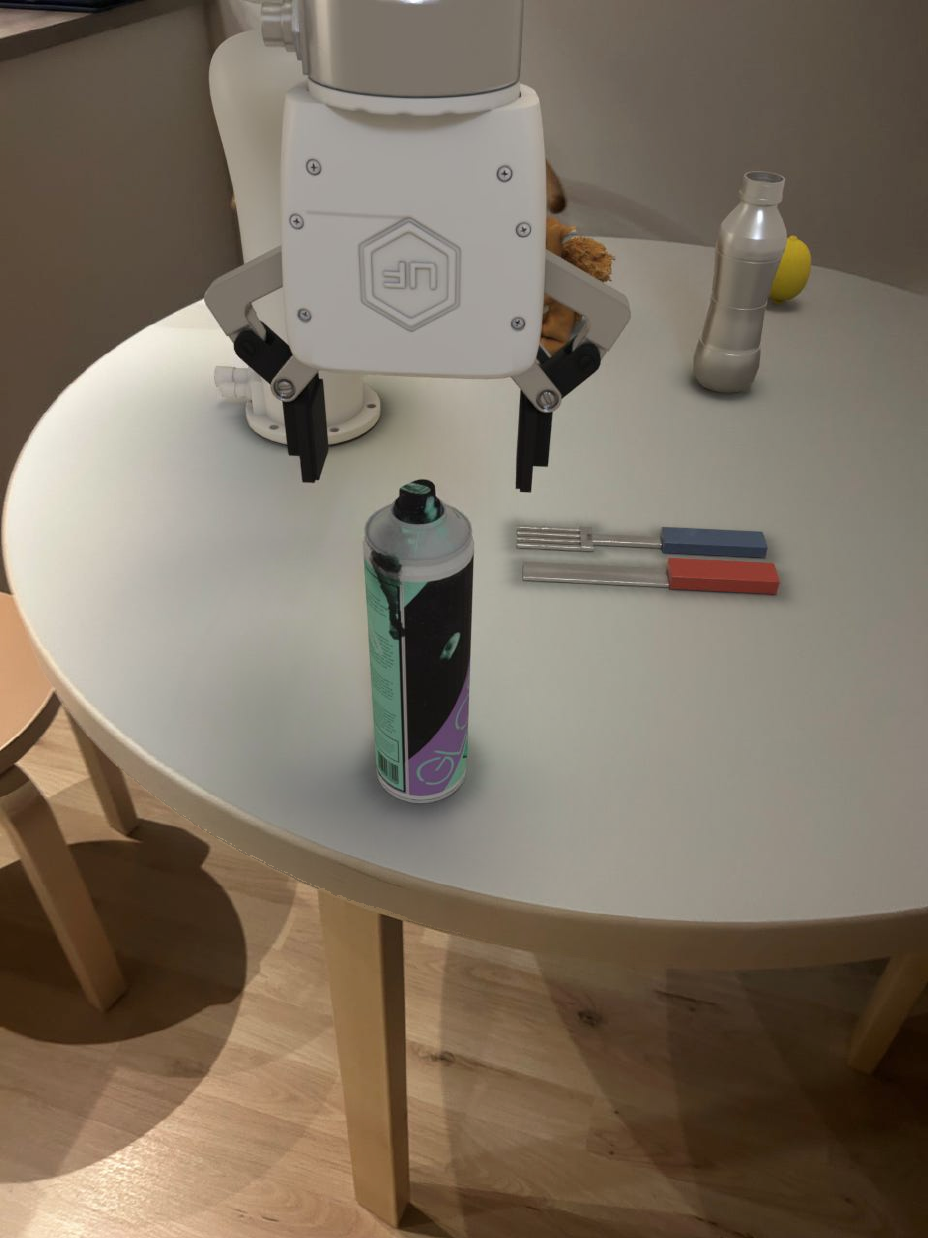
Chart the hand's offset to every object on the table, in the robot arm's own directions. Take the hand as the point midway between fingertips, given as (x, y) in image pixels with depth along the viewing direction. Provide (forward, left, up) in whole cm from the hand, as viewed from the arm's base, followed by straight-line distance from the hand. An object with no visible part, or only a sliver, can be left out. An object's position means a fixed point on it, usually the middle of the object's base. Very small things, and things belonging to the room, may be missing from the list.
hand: (419, 472), depth 44 cm
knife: (+16, +20, -21) cm, 33 cm away
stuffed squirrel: (+8, +64, -21) cm, 68 cm away
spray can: (0, 0, -21) cm, 21 cm away
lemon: (+36, +75, -21) cm, 86 cm away
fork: (+16, +25, -21) cm, 36 cm away
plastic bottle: (+26, +53, -21) cm, 63 cm away
